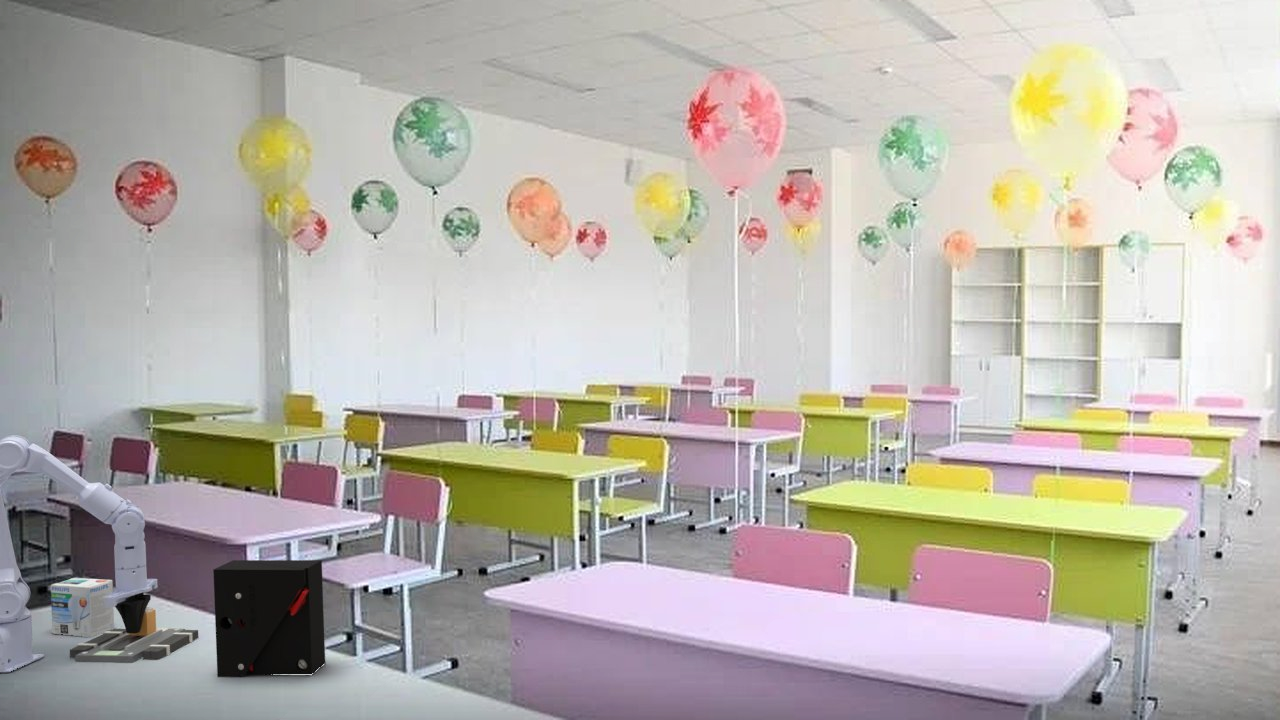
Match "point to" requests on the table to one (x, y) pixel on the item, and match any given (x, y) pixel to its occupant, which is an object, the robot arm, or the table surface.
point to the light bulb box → (81, 607)
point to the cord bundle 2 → (170, 644)
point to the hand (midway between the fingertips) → (133, 632)
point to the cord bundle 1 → (96, 641)
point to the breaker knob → (147, 623)
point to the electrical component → (269, 617)
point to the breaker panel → (125, 647)
